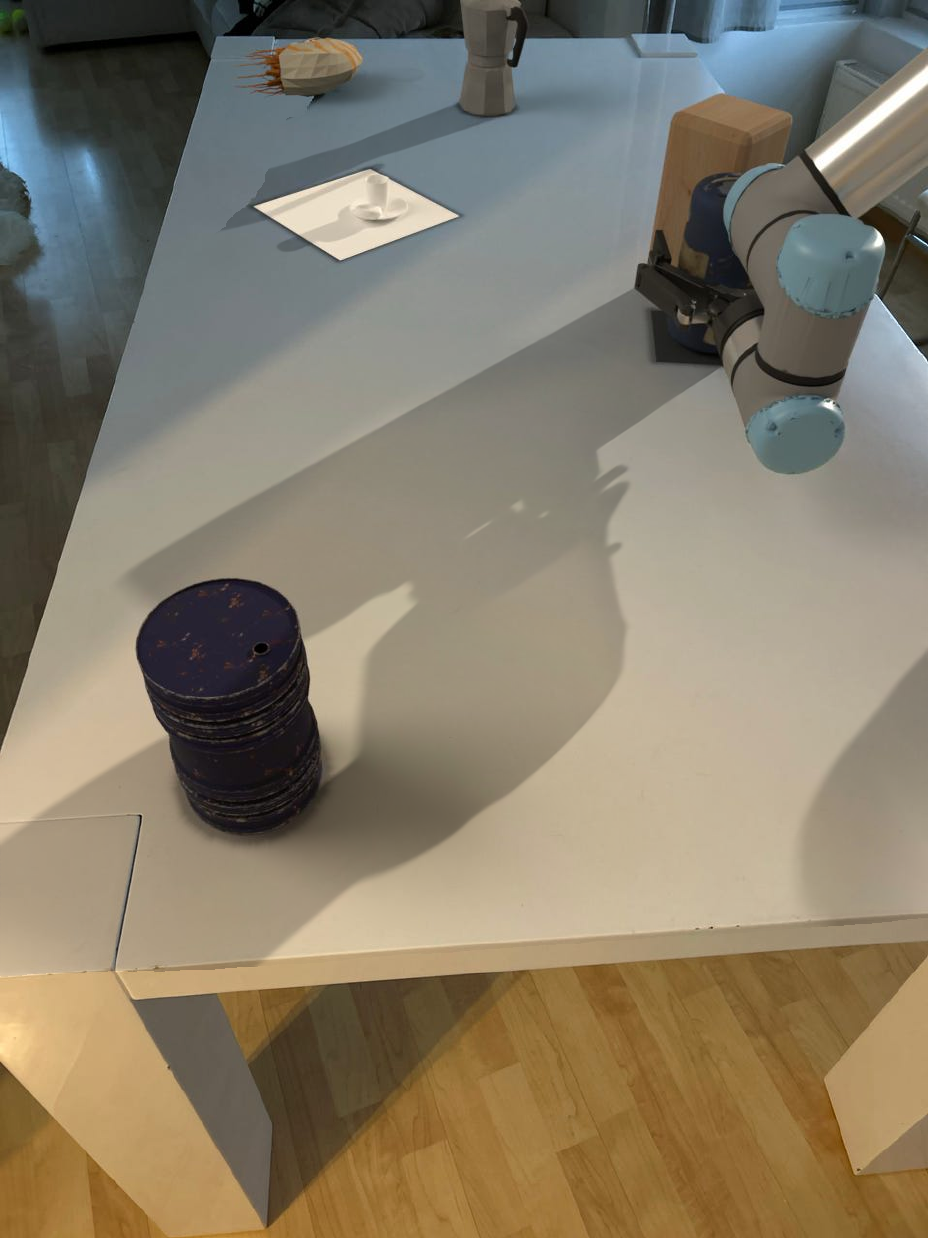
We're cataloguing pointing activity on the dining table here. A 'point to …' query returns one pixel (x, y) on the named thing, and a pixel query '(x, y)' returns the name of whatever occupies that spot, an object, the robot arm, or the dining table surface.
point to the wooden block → (714, 153)
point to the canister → (708, 253)
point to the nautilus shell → (308, 67)
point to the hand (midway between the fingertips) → (719, 242)
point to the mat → (676, 345)
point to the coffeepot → (491, 54)
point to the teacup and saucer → (355, 213)
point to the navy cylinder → (234, 702)
